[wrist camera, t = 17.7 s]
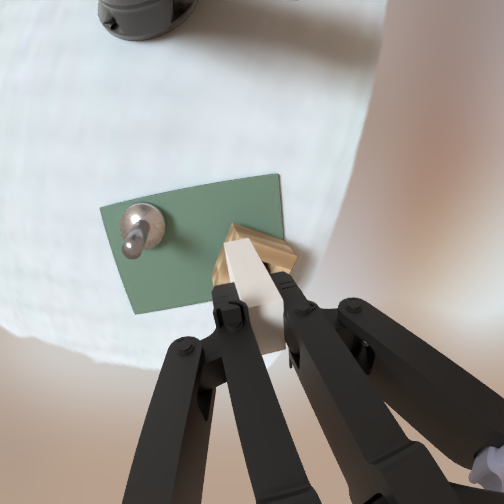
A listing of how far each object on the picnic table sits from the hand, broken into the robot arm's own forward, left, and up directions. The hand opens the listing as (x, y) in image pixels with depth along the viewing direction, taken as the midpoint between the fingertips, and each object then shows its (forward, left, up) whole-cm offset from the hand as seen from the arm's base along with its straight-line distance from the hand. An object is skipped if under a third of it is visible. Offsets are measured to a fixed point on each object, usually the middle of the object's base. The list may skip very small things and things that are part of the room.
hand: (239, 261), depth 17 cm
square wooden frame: (+12, +4, -24) cm, 27 cm away
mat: (+10, -3, -26) cm, 28 cm away
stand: (+4, -11, -26) cm, 29 cm away
